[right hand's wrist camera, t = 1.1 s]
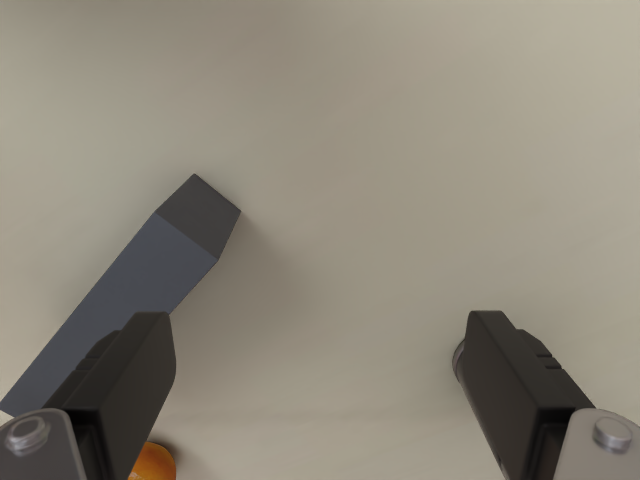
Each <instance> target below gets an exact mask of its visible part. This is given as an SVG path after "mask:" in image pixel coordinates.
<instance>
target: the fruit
mask: <svg viewBox="0 0 640 480" xmlns="http://www.w3.org/2000/svg"><path fill="white" fill-rule="evenodd" d="M128 480H176V466H175V462H174V459H173V457H172V456H171V454H170V453H169V452H168V451H167V449H165V448H164V447H162V446H160V445H158V444H155V443H152V442H145V444H144V446H143V448H142V450H141V452H140V454H139V457H138V459H137V461H136V463H135V465H134V467H133V469H132V471H131V473H130V475H129V478H128Z"/></svg>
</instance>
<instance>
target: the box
mask: <svg viewBox="0 0 640 480" xmlns="http://www.w3.org/2000/svg"><path fill="white" fill-rule="evenodd" d="M240 212H241V211H240V210H239V209H238V208H237V207H235V206H234V205H233V204H232V203H230V202H229V201H228V200H227V199H225V198H224V197H223V196H222V195H220V194H219V193H218V192H217V191H216V190H214V189H213V188H212V187H211V186H209V185H208V184H207V183H206V182H204V181H203V180H202V179H201V178H199V177H198V176H197V175H196V174H193V175H192V176H191V177H190V178H189V179H188V180H187V181H186V182H185V183H184V184H183V185H182V186H181V187H180V188H179V189H178V190H176V191H175V192H174V193H173V194H172V195H171V196H170V197H169V198H168V199H167V200H166V201H165V202H164V203H163V204H162V205H161V206H160V207H159V208H158V209H157V210H156V211H155V212H154V213H153V214H152V215H151V216H150V218H149V219H148V220H147V221H146V223H145V224H144V225H143V226H142V228H141V229H140V230H139V231H138V233H137V234H136V235H135V236H134V238H133V239H132V240H131V241H130V242H129V244H128V245H127V246H126V247H125V249H124V250H123V251H122V252H121V254H120V255H119V256H118V257H117V259H116V260H115V261H114V262H113V263H112V265H111V266H110V267H109V268H108V270H107V271H106V272H105V273H104V275H103V276H102V277H101V278H100V280H99V281H98V282H97V283H96V284H95V286H94V287H93V288H92V289H91V291H90V292H89V293H88V294H87V296H86V297H85V298H84V299H83V301H82V302H81V303H80V304H79V305H78V307H77V308H76V309H75V310H74V312H73V313H72V314H71V315H70V317H69V318H68V319H67V320H66V322H65V323H64V324H63V325H62V327H61V328H60V329H59V330H58V331H57V333H56V334H55V335H54V336H53V338H52V339H51V340H50V341H49V343H48V344H47V345H46V346H45V348H44V349H43V350H42V351H41V352H40V354H39V355H38V356H37V357H36V359H35V360H34V361H33V362H32V364H31V365H30V366H29V367H28V369H27V370H26V371H25V372H24V373H23V375H22V376H21V377H20V378H19V380H18V381H17V382H16V383H15V385H14V386H13V387H12V388H11V390H10V391H9V392H8V393H7V394H6V396H5V397H4V398H3V399H2V401H1V402H0V410H2V411H3V412H5V413H7V414H9V415H11V416H13V417H17V416H20V415H22V414H24V413H27V412H30V411H34V410H38V409H41V408H42V407H43V406H44V404H45V403H46V402H47V401H48V400H49V398H50V397H51V396H52V395H53V394H54V392H55V391H56V390H57V389H58V388H59V386H60V385H61V384H62V383H63V382H64V380H65V379H66V378H67V377H68V376H69V374H70V373H71V372H72V371H73V370H75V369H76V366H77V365H78V364H79V362H80V361H81V360H82V359H83V358H85V355H86V354H87V353H88V352H89V351H90V349H91V348H92V347H93V346H94V345H95V343H96V342H97V341H99V340H100V339H102V338H103V337H105V336H107V335H108V334H110V333H111V332H113V331H114V330H122V328H123V327H124V326H125V325H126V323H127V322H128V321H129V319H130V318H131V317H132V316H133V314H134V313H135V312H138V311H165V312H167V313H168V315H169V314H170V313H171V312H172V311H173V310H174V309H175V308H176V306H177V305H178V304H179V303H180V302H181V301H182V300H183V299H184V298H185V297H186V295H187V294H188V293H189V292H190V291H191V290H192V289H193V288H194V287H195V285H196V284H197V283H198V282H199V281H200V280H201V279H202V278H203V277H204V276H205V274H206V273H207V272H208V271H209V270H210V269H211V268H212V267H213V266H214V265H215V263H216V262H217V261H218V260H219V258H220V256H221V253H222V251H223V249H224V247H225V245H226V243H227V240H228V238H229V236H230V234H231V232H232V230H233V227H234V225H235V223H236V221H237V219H238V217H239V214H240Z"/></svg>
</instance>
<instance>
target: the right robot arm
mask: <svg viewBox="0 0 640 480" xmlns="http://www.w3.org/2000/svg"><path fill="white" fill-rule="evenodd" d="M453 370H454V373H455V375H456V377H457V379H458V381H459V383H460V384H461V386H462V388H463V390H464V392H465V395H466V397H467V399H468V401H469V403H470V405H471V408H472V410H473V412H474V414H475V416H476V418H477V420H478V422H479V425H480V427H481V429H482V431H483V433H484V435H485V437H486V439H487V442H488V444H489V446H490V448H491V450H492V452H493V454H494V456H495V459H496V461H497V463H498V465H499V467H500V469H501V471H502V473H503V476H504V477H505V479H506V480H640V427H639V426H638V425H637V424H635V423H633V422H632V421H630V420H629V419H627V418H625V417H623V416H620V415H618V414H616V413H613V412H610V411H606V410H602V409H596V407H595V406H594V405H593V404H592V402H591V401H590V400H589V399H588V398H587V396H586V395H585V394H584V393H583V392H582V390H581V389H580V388H579V387H578V386H577V384H576V383H575V382H574V381H573V380H572V378H571V377H570V376H569V375H568V374H567V372H566V371H565V370H564V369H562V368H561V365H560V364H559V363H558V361H557V360H556V359H555V358H552V354H551V353H550V352H549V351H548V349H547V348H546V347H545V346H544V345H543V343H542V342H541V341H540V340H538V339H537V338H535V337H534V336H532V335H531V334H529V333H528V332H526V331H525V330H523V329H515V327H514V326H513V325H512V323H511V322H510V321H509V319H508V318H507V317H506V316H505V314H504V313H503V312H502V311H471V312H470V313H469V316H468V321H467V328H466V335H465V340H464V341H463V342H462V343H461V344H460V345H459V347H458V348H457V350H456V352H455V354H454V357H453ZM175 373H176V357H175V350H174V344H173V337H172V330H171V323H170V318H169V315H168V313H167V312H165V311H138V312H135V313H134V314H133V316H132V317H131V318H130V319H129V321H128V322H127V323H126V325H125V326H124V327H123V328H122V330H114V331H113V332H111V333H110V334H108V335H107V336H105V337H103V338H102V339H100V340H99V341H97V342H96V343H95V345H94V346H93V347H92V348H91V349H90V351H89V352H88V353H87V354H86V355H85V358H83V359H82V360H81V361H80V362H79V364H78V365H77V366H76V369H75V370H73V371H72V372H71V373H70V374H69V376H68V377H67V378H66V379H65V380H64V382H63V383H62V384H61V385H60V386H59V388H58V389H57V390H56V391H55V392H54V394H53V395H52V396H51V397H50V398H49V400H48V401H47V402H46V403H45V404H44V406H43V407H42V408H41V409H38V410H34V411H30V412H27V413H24V414H22V415H20V416H17V417H15V418H13V419H11V420H10V421H8V422H7V423H5V424H3V425H2V426H1V427H0V480H128V478H129V475H130V473H131V471H132V469H133V467H134V465H135V463H136V461H137V459H138V457H139V454H140V452H141V450H142V448H143V446H144V444H145V442H146V440H147V438H148V435H149V433H150V431H151V429H152V427H153V425H154V423H155V421H156V419H157V417H158V414H159V412H160V410H161V408H162V406H163V404H164V402H165V400H166V398H167V396H168V393H169V391H170V389H171V387H172V385H173V382H174V379H175Z"/></svg>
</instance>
